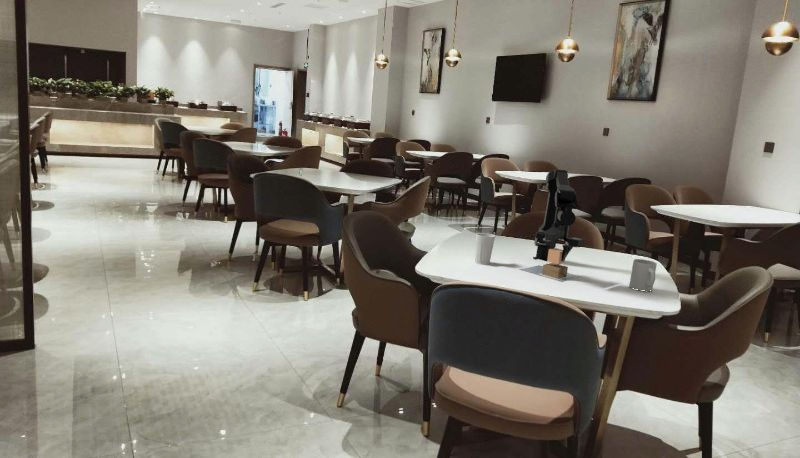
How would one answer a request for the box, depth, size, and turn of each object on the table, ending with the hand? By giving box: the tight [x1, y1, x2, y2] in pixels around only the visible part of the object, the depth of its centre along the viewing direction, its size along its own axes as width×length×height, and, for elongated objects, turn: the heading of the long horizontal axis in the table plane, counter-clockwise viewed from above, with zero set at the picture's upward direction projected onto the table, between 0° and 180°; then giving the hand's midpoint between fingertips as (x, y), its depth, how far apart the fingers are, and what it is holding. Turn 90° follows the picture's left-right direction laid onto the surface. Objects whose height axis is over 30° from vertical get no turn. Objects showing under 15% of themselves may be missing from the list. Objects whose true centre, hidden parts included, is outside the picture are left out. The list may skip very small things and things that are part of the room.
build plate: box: [518, 264, 582, 283], centre depth 246 cm, size 16×20×1 cm
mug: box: [628, 258, 657, 291], centre depth 234 cm, size 12×8×11 cm
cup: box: [474, 232, 496, 266], centre depth 255 cm, size 8×8×12 cm
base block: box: [542, 262, 569, 279], centre depth 242 cm, size 7×7×4 cm
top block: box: [546, 247, 566, 265], centre depth 241 cm, size 5×5×5 cm
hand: (556, 259), depth 241 cm, fingers closed on top block, 5 cm apart
